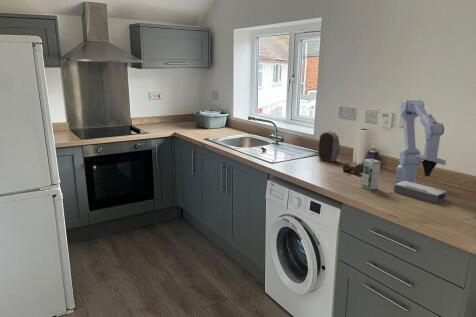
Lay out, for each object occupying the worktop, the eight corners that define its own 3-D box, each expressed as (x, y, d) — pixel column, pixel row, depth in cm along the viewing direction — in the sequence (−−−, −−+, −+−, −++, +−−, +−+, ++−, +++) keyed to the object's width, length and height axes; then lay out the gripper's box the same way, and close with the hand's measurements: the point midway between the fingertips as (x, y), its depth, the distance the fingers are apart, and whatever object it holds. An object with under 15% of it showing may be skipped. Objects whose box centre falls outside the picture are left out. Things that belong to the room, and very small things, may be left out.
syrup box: (360, 186, 186) (363, 159, 182) (369, 185, 188) (372, 158, 184) (368, 190, 180) (371, 161, 177) (377, 188, 183) (381, 160, 179)
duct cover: (394, 184, 177) (394, 182, 177) (404, 181, 184) (404, 179, 183) (437, 196, 162) (437, 193, 162) (446, 192, 169) (446, 190, 168)
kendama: (372, 172, 216) (351, 176, 204) (358, 169, 223) (337, 173, 211) (373, 162, 214) (352, 166, 203) (359, 159, 222) (338, 163, 210)
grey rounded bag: (315, 159, 243) (317, 129, 238) (322, 157, 248) (325, 128, 244) (334, 163, 232) (336, 132, 227) (341, 161, 237) (344, 131, 233)
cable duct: (393, 191, 178) (394, 185, 178) (403, 188, 184) (404, 181, 184) (436, 203, 163) (437, 196, 162) (445, 199, 169) (446, 192, 169)
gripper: (451, 150, 169) (446, 178, 172) (422, 145, 181) (418, 171, 184) (442, 152, 165) (438, 180, 168) (413, 146, 177) (409, 172, 180)
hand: (427, 175), depth 176 cm, fingers closed
